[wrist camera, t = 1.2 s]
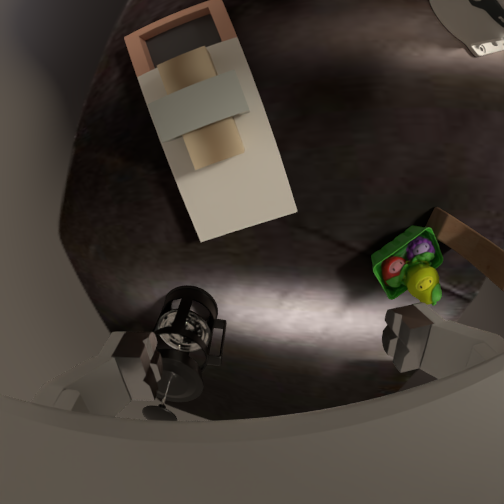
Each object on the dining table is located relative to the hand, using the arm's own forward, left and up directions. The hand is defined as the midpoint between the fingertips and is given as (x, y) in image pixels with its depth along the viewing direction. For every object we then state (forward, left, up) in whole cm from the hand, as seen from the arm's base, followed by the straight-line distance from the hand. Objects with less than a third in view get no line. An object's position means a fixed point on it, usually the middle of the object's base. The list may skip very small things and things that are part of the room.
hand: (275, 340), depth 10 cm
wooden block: (-28, +17, -34) cm, 47 cm away
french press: (+18, +18, -34) cm, 42 cm away
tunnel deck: (+4, -10, -34) cm, 36 cm away
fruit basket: (-18, +19, -34) cm, 43 cm away
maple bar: (+4, -11, -31) cm, 33 cm away
